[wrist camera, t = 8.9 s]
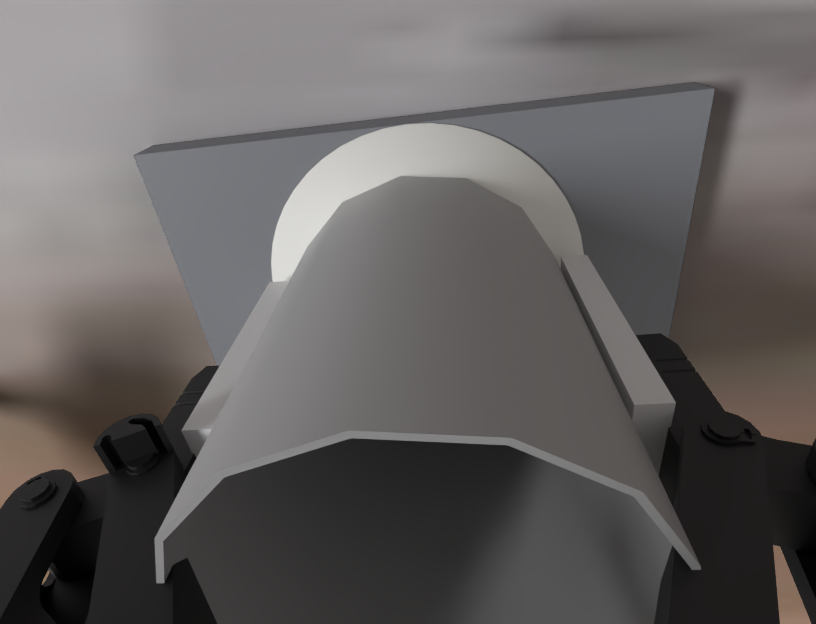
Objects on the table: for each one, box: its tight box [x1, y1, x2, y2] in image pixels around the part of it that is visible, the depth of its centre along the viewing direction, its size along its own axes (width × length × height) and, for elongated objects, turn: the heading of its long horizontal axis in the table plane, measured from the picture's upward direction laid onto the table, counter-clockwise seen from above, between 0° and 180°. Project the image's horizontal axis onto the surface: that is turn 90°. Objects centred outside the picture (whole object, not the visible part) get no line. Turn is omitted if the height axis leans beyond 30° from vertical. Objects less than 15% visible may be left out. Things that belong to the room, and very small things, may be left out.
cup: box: [154, 176, 701, 624], centre depth 12 cm, size 8×8×10 cm
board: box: [134, 82, 715, 366], centre depth 18 cm, size 22×16×5 cm
